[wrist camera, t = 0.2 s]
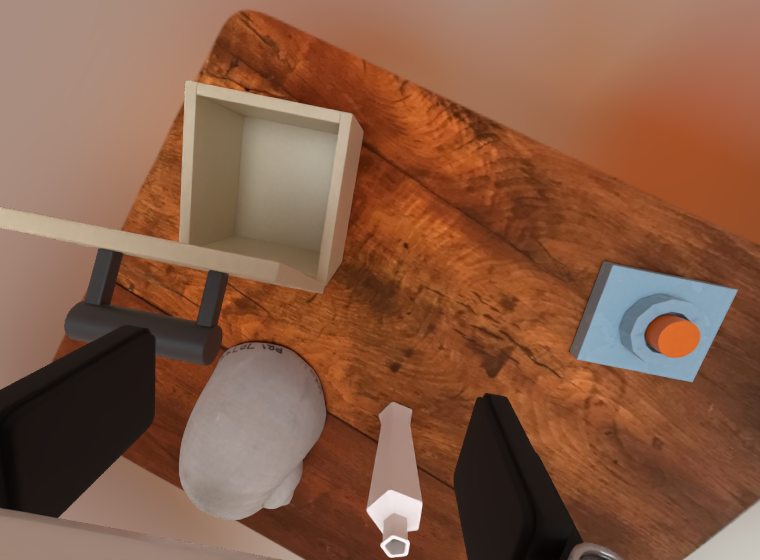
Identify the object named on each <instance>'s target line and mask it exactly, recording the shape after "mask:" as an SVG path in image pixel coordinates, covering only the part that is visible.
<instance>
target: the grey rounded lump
mask: <svg viewBox="0 0 760 560" xmlns="http://www.w3.org/2000/svg"><path fill="white" fill-rule="evenodd" d="M325 419H326V408H325V401H324V395H323V391H322V387H321V383H320V380H319V378H318V376H317V375H316V373H315V371H314V370H313V369H312V368H311V367H310V366H309V365H308V364H307V363H306V362H305V361H304V360H303V359H302V358H300V357H299V356H298V355H297V354H296V353H295V352H293V351H291V350H289V349H287V348H285V347H282V346H278V345H273V344H268V343H258V342H256V343H244V344H241V345H237V346H234V347H232V348H230V349H228V350H227V351H226V352H224V354H223V355H222V357H221V358H220V360H219V362H218V365H217V367H216V368H215V370H214V372H213V374H212V376H211V377H210V379H209V381H208V383H207V385H206V386H205V388H204V390H203V391H202V393H201V395H200V397H199V399H198V401H197V403H196V405H195V407H194V409H193V411H192V413H191V416H190V418H189V420H188V423H187V426H186V429H185V432H184V435H183V439H182V444H181V449H180V460H179V476H180V479H181V484H182V487H183V489H184V491H185V493H186V494H187V496H188V497H189V498H190V500H191V501H192V502H193V503H194V504H195V505H196V506H197V507H198V508H199V509H200V510H202V511H203V512H205V513H207V514H209V515H211V516H214V517H217V518H221V519H226V520H240V519H243V518H246V517H248V516H250V515H253V514H254V513H256V512H257V511H259V510H260V509H262V508H263V507H264V508H268V509H275V508H278V507H280V506H283V505H287V504H289V503H290V501H291V499H292V497H293V493H294V489H295V488H296V486H297V484H298V483H299V481H300V478H301V476H302V470H303V459H304V458H305V456H306V454H307V453H308V452H309V451H310V450H311V448H312V447H313V445H314V444H315V443H316V442H317V440H318V438H319V436H320V434H321V433H322V430H323V428H324V424H325Z"/></svg>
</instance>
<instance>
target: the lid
mask: <svg viewBox="0 0 760 560" xmlns="http://www.w3.org/2000/svg"><path fill="white" fill-rule="evenodd" d="M0 228H3V229H8V230H13V231H18V232H23V233H27V234H32V235H37V236H41V237H47V238H51V239H56V240H61V241H65V242H70V243H75V244H80V245H84V246H89V247H94V248H98V253H97V256H96V260H95V264H94V268H93V272H92V275H91V279H90V283H89V287H88V291H87V294H86V298H85V301H81V302H79V303H78V304H76V305H75V306H74V307H73V308H72V309H71V310H70V311H69V313H68V315H67V317H66V320H65V325H64V327H65V333H66V334H67V336H68V337H69V338H71V339H73V340H78V341H83V342H88V343H90V342H92V341H94V340H96V339H98V338H100V337H102V336H104V335H106V334H108V333H109V332H111V331H113V330H115V329H117V328H119V327H121V326H123V325H126V324H127V325H133V326H138V327H143V328H148V329H149V330H150V332H151V334H153V335H154V336H155V339H156V352H155V356H160V357H165V358H170V359H175V360H180V361H185V362H190V363H195V364H200V365H210V364H211V363H212V362H213V361H214V360H215V358H216V356H217V354H218V352H219V350H220V347H221V343H222V329H221V327H220V326H217V324H218V319H219V315H220V311H221V306H222V302H223V298H224V294H225V289H226V285H227V281H228V276H229V275H230V276H235V277H240V278H245V279H250V280H255V281H260V282H265V283H270V284H275V285H280V286H285V287H290V288H295V289H300V290H305V291H310V292H315V293H320V294H323V291H324V286H325V284H324V283H322V282H320V281H318V280H315V279H313V278H311V277H309V276H307V275H305V274H303V273H301V272H298V271H296V270H294V269H292V268H290V267H288V266H286V265H284V264H282V263H279V262H276V261H271V260H266V259H261V258H256V257H251V256H246V255H241V254H236V253H231V252H226V251H221V250H216V249H211V248H206V247H201V246H196V245H191V244H186V243H180V242H175V241H170V240H165V239H160V238H155V237H150V236H145V235H140V234H135V233H130V232H125V231H120V230H115V229H110V228H105V227H100V226H95V225H90V224H84V223H80V222H75V221H70V220H64V219H60V218H55V217H50V216H44V215H40V214H35V213H29V212H25V211H20V210H14V209H9V208H5V207H0ZM123 254H127V255H131V256H136V257H141V258H146V259H150V260H155V261H160V262H165V263H169V264H174V265H179V266H184V267H189V268H194V269H199V270H204V271H209V272H208V276H207V280H206V284H205V289H204V293H203V297H202V301H201V306H200V310H199V314H198V318H197V321H192V320H187V319H182V318H177V317H172V316H167V315H162V314H157V313H151V312H146V311H141V310H136V309H131V308H126V307H121V306H116V305H111V304H110V303H111V299H112V295H113V291H114V287H115V284H116V280H117V276H118V272H119V268H120V264H121V260H122V256H123Z"/></svg>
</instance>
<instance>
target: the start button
mask: <svg viewBox="0 0 760 560" xmlns="http://www.w3.org/2000/svg"><path fill="white" fill-rule="evenodd" d="M700 337H701V336H700V331H699V329H698V327H697V326H696V325H695V324H693V323H692V322H690V321H687V320H685V319H683V318H681V317H679V316H677V315H673V314H665V315H661V316H659V317H657V318H655V319H654V320H653V321H651V322H650V324H649V325H648V327H647V329H646V332H645V338H646V341H647V343H648V344H649V345H650V346H651V347H653V348H654V349H656V350H657V351H659V352H660V353H662V354H663V355H665V356H667V357H671V358H680V357H684V356H686V355H688V354H690V353H691V352H692V351H694V350H695V349H696V347H697V346H698V344H699V342H700Z"/></svg>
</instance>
